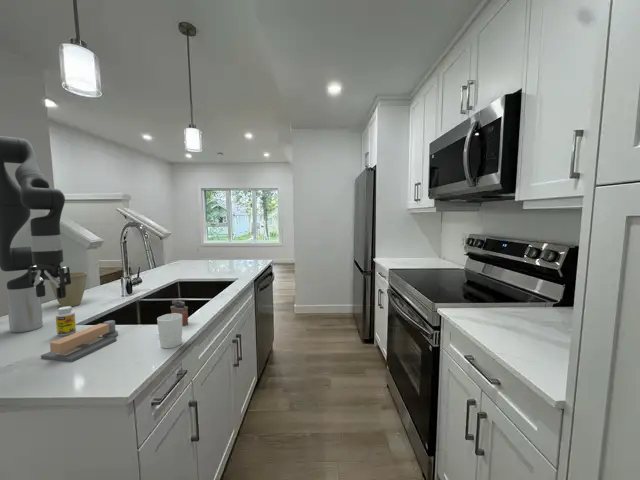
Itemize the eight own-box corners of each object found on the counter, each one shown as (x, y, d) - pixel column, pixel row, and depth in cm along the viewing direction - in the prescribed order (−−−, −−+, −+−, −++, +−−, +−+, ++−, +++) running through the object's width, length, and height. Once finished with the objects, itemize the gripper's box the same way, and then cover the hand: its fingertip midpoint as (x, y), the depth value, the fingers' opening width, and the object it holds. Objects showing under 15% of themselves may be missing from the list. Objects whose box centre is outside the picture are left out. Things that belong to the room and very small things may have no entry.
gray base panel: (41, 358, 94) (41, 354, 94) (102, 332, 115) (102, 329, 115) (71, 361, 92) (71, 358, 92) (128, 334, 113) (128, 331, 113)
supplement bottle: (55, 337, 111) (53, 311, 110) (58, 332, 115) (56, 307, 114) (75, 334, 114) (73, 308, 113) (76, 329, 118) (75, 304, 117)
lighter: (190, 323, 124) (189, 300, 123) (184, 326, 121) (183, 302, 120) (175, 321, 127) (174, 298, 126) (169, 324, 123) (168, 301, 123)
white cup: (164, 340, 108) (163, 313, 107) (186, 339, 108) (185, 312, 108) (154, 350, 100) (152, 321, 99) (178, 349, 101) (177, 320, 100)
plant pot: (95, 300, 159) (93, 271, 157) (74, 309, 144) (72, 277, 142) (67, 301, 158) (64, 272, 156) (42, 310, 143) (39, 277, 142)
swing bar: (109, 330, 114) (108, 319, 113) (118, 330, 113) (117, 320, 113) (50, 355, 93) (49, 342, 93) (61, 356, 93) (60, 343, 92)
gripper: (17, 250, 95) (21, 299, 96) (52, 250, 92) (56, 301, 93) (43, 247, 102) (46, 293, 103) (76, 248, 99) (79, 295, 100)
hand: (51, 297), depth 98 cm, fingers open, 8 cm apart
